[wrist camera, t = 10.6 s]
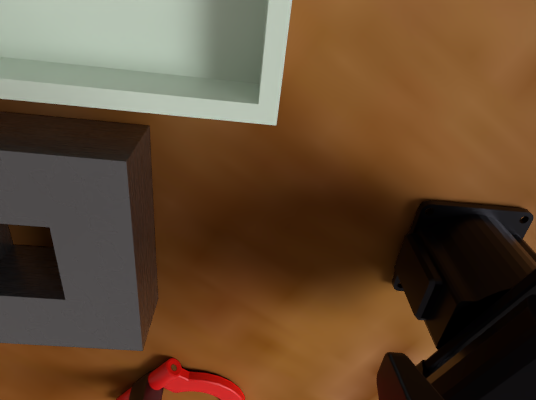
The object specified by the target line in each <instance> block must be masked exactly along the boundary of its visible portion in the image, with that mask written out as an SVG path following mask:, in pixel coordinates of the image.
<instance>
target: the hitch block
mask: <svg viewBox="0 0 536 400" xmlns="http://www.w3.org/2000/svg"><path fill="white" fill-rule="evenodd" d="M8 224H12V225H25V226H38V227H50V232H51V236H52V241H53V245H54V248H52V247H38V246H25V245H13V241H12V238H11V234H10V231H9V227H8ZM157 301H158V287H157V267H156V247H155V228H154V208H153V188H152V168H151V148H150V128H149V126H146V125H136V124H125V123H115V122H104V121H94V120H83V119H73V118H62V117H52V116H41V115H31V114H20V113H10V112H0V343H14V344H32V345H49V346H67V347H84V348H102V349H119V350H137V351H143V348H144V345H145V341H146V338H147V335H148V331H149V328H150V325H151V321H152V318H153V314H154V311H155V308H156V304H157Z"/></svg>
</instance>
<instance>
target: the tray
mask: <svg viewBox="0 0 536 400" xmlns="http://www.w3.org/2000/svg"><path fill="white" fill-rule="evenodd" d="M291 4H292V0H0V99H10V100H20V101H30V102H41V103H51V104H61V105H71V106H82V107H92V108H102V109H112V110H123V111H133V112H143V113H154V114H164V115H174V116H184V117H195V118H205V119H215V120H226V121H236V122H246V123H256V124H267V125H276V124H277V116H278V108H279V100H280V92H281V84H282V76H283V68H284V60H285V52H286V44H287V36H288V28H289V20H290V12H291Z"/></svg>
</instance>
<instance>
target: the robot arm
mask: <svg viewBox="0 0 536 400" xmlns="http://www.w3.org/2000/svg"><path fill="white" fill-rule="evenodd" d="M428 208H431V210H430V211H428V212H425V211H426V210H427V209H428ZM522 217H524V218H522ZM521 218H522V219H521ZM532 221H533V215H532V214H531V213H530V212H529V211H528V210H527V209H523V208H512V207H500V206H489V205H477V204H466V203H454V202H442V201H431V200H429V201H424V202H422V203H421V204H420V205H419V207H418V210H417V212H416V215H415V218H414V221H413V223H412V226H411V229H410V232H409V233H408V234H407V235H406V236H405V238H404V241H403V244H402V247H401V249H400V252H399V255H398V258H397V260H396V263H395V266H394V268H395V273H394V276H393V279H392V284H393V287H394V289H396V290H398V291H404V292H405V294H406V297H407V299H408V301H409V304H410V306H411V309H412V311H413V313H414V315H415V317H416V318H417V319H418V320H424V322H425V324H426V326H427V328H428V331H429V333H430V335H431V337H432V340H433V342H434V344H435V346H436V348H437V349H438V350H437V351H436V352H435V353H434V354H433V355H432V356H430V357H429V358H428V359H427V360H422V361H421V362H420V363H419V364H418V365H416V366H415V365H414V364H413V363H412V361H411V360H410V359H409V358H408V357H407V356H406V355H405V354H403V353H394V352H388V353H386V354H385V356H384V358H383V361H382V363H381V366H380V368H379V371H378V373H377V389H378V396H379V400H536V253H535V252H534V251H533V250H532V249H531V248H530V247H529V246H528V245H527V243H526V242H525V241H524V240H523V237H524V235H525V233H526V232H527V230H528V228H529V226H530V224H531V223H532ZM400 282H401V283H400ZM398 283H399V284H398Z"/></svg>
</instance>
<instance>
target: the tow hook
mask: <svg viewBox="0 0 536 400" xmlns="http://www.w3.org/2000/svg"><path fill="white" fill-rule="evenodd" d="M163 388H165V389H168V390H170V391H172V392H175V393H178V392H185V391H196V392H204V393H208V394H211V395H213V396H216V397H218V398H219V399H221V400H245V396H244V394H243V392H242V391H241V389H240V388H239V387H238V386H236V385H235V384H234V383H233V382H231V381H229V380H227V379H225V378H223V377H220V376H217V375H213V374H209V373H203V372H189V371H187V370H185V369H183V368H182V367H181V364H180V362H179V361H178V360H176V359H174V358H170V359H169V360H167V361H166V362H165V363H163V364H162V365H161V366H159V367H158V368H157V369H155V370H154V371H150V372H149V373H148V374H146V375H145V376H144V377H142V378H141V379H140V380H138V381H137V382H136V383H134V384H133V386H132V387H131V388H130V389H129V390H127V391H126V392H125V393H123V394H122V395H121V396H119V397H118V398H117V399H116V400H161V399H162V394H163Z"/></svg>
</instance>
